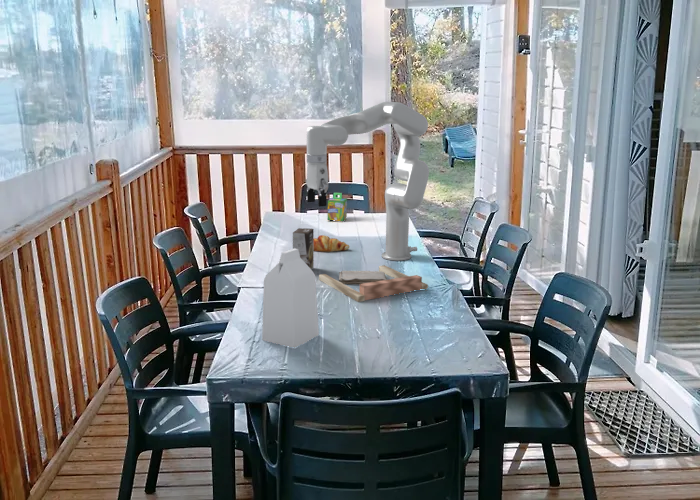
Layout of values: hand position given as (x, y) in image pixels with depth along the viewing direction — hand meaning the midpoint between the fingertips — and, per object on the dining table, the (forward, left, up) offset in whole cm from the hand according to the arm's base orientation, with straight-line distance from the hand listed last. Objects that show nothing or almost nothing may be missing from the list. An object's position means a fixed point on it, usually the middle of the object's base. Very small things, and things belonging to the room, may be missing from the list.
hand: (316, 204), depth 251 cm
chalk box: (-55, -83, -27) cm, 103 cm away
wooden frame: (-10, +26, -27) cm, 38 cm away
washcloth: (-10, +19, -27) cm, 35 cm away
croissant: (-19, -28, -27) cm, 43 cm away
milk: (+38, +59, -27) cm, 75 cm away
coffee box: (+4, -3, -27) cm, 27 cm away
